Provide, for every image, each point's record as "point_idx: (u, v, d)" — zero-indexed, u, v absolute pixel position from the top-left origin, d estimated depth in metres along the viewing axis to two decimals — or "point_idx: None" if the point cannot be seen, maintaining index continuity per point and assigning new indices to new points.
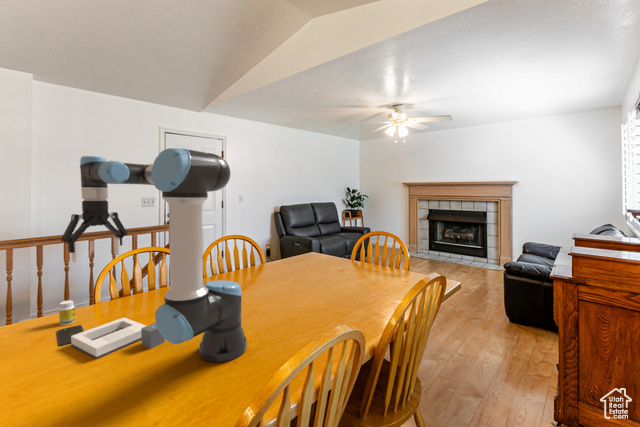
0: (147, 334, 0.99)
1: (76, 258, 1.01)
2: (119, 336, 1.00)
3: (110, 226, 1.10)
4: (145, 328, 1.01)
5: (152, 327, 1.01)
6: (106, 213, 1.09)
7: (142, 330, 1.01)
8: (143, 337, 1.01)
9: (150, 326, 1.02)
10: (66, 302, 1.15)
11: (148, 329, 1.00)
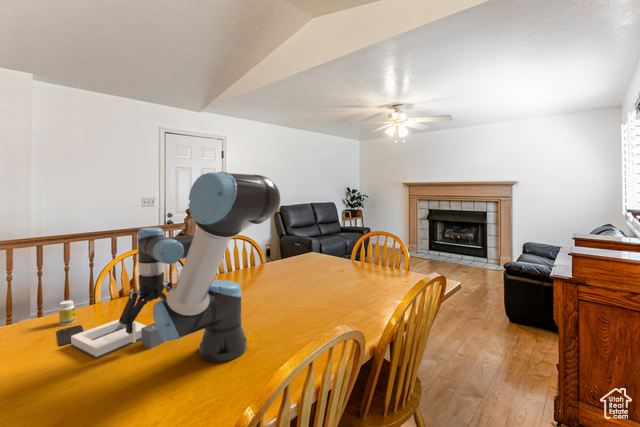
0: (147, 334, 0.99)
1: (133, 339, 0.95)
2: (119, 336, 1.00)
3: (165, 298, 1.04)
4: (145, 328, 1.01)
5: (152, 327, 1.01)
6: (161, 285, 1.03)
7: (142, 330, 1.01)
8: (143, 337, 1.01)
9: (150, 326, 1.02)
10: (66, 302, 1.15)
11: (148, 329, 1.00)
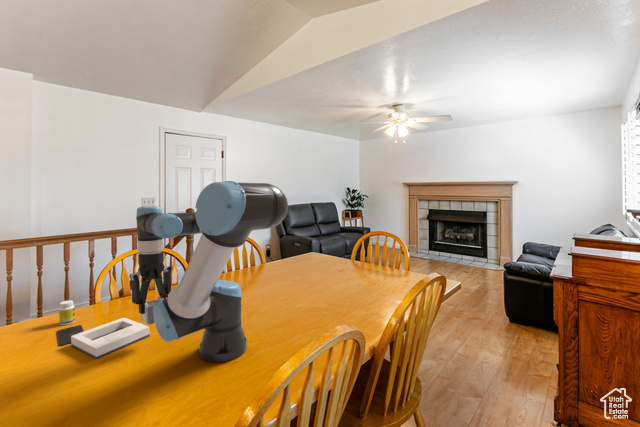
0: None
1: (146, 319, 0.98)
2: (119, 336, 1.00)
3: (160, 282, 1.02)
4: None
5: (152, 303, 1.01)
6: (162, 265, 1.03)
7: None
8: None
9: (150, 302, 1.01)
10: (66, 302, 1.15)
11: None
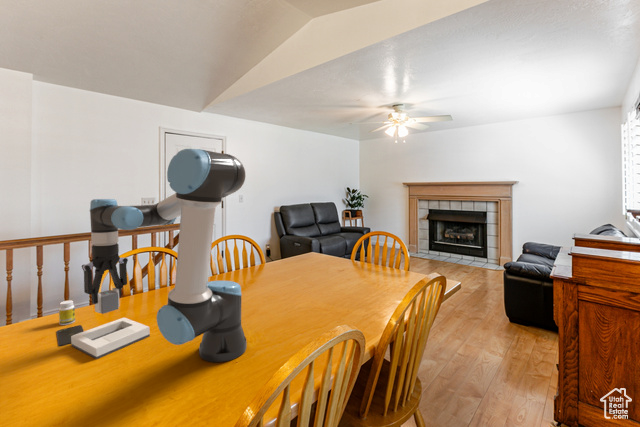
0: None
1: (99, 309, 1.00)
2: (119, 336, 1.00)
3: (115, 273, 1.04)
4: None
5: (106, 293, 1.03)
6: (117, 256, 1.05)
7: None
8: None
9: (104, 292, 1.04)
10: (66, 302, 1.15)
11: (101, 295, 1.01)
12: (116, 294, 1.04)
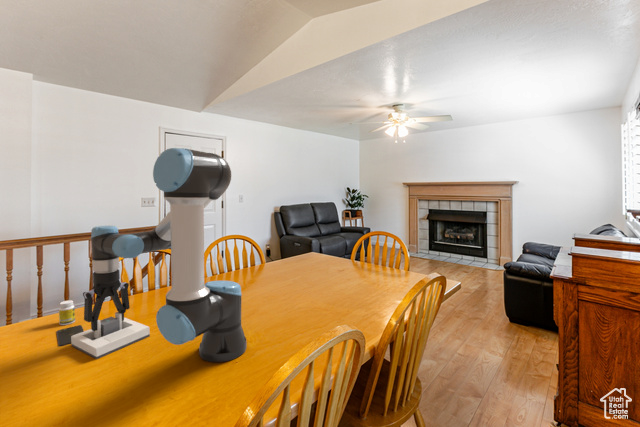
0: (101, 327, 1.02)
1: (98, 336, 1.00)
2: (119, 336, 1.00)
3: (117, 298, 1.05)
4: None
5: (107, 321, 1.04)
6: (118, 282, 1.05)
7: None
8: None
9: (105, 320, 1.04)
10: (66, 302, 1.15)
11: (102, 323, 1.02)
12: (117, 321, 1.05)
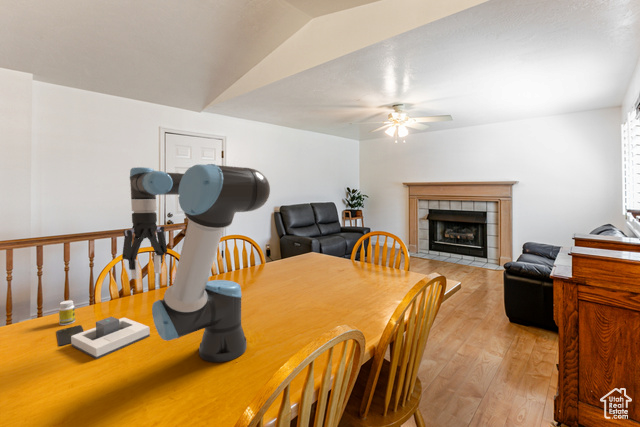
0: (101, 327, 1.02)
1: (136, 275, 1.01)
2: (119, 336, 1.00)
3: (155, 240, 1.07)
4: (99, 322, 1.03)
5: (107, 321, 1.04)
6: (155, 225, 1.07)
7: (96, 324, 1.03)
8: (97, 330, 1.03)
9: (105, 320, 1.04)
10: (66, 302, 1.15)
11: (102, 323, 1.02)
12: (117, 321, 1.05)
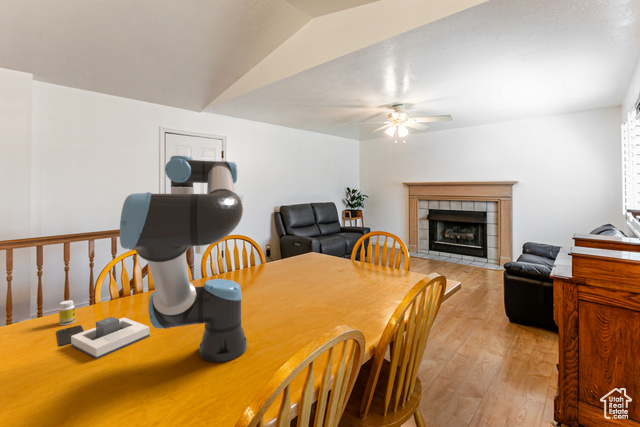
0: (101, 327, 1.02)
1: None
2: (119, 336, 1.00)
3: None
4: (99, 322, 1.03)
5: (107, 321, 1.04)
6: None
7: (96, 324, 1.03)
8: (97, 330, 1.03)
9: (105, 320, 1.04)
10: (66, 302, 1.15)
11: (102, 323, 1.02)
12: (117, 321, 1.05)
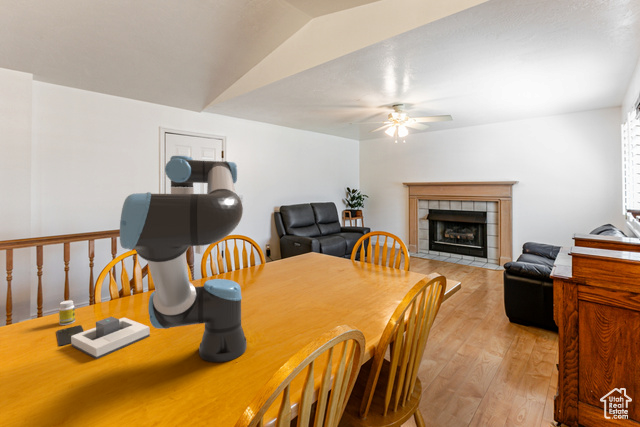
0: (101, 327, 1.02)
1: None
2: (119, 336, 1.00)
3: None
4: (99, 322, 1.03)
5: (107, 321, 1.04)
6: None
7: (96, 324, 1.03)
8: (97, 330, 1.03)
9: (105, 320, 1.04)
10: (66, 302, 1.15)
11: (102, 323, 1.02)
12: (117, 321, 1.05)
